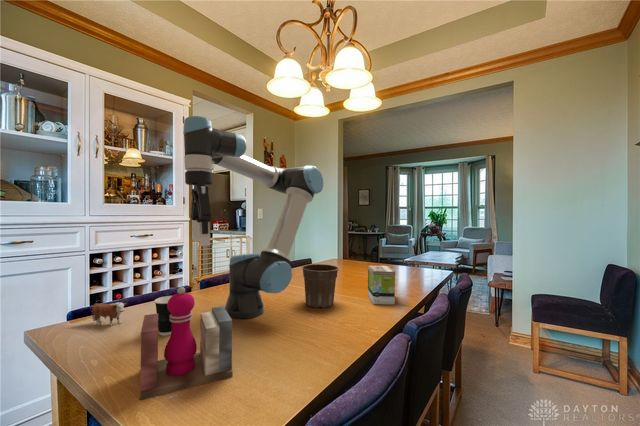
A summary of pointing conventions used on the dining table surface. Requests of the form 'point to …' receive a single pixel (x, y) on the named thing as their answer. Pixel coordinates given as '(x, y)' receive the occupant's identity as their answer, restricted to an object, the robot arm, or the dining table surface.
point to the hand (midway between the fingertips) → (200, 243)
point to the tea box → (381, 284)
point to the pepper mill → (180, 335)
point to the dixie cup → (163, 315)
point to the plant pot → (319, 284)
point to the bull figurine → (107, 312)
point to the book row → (208, 362)
